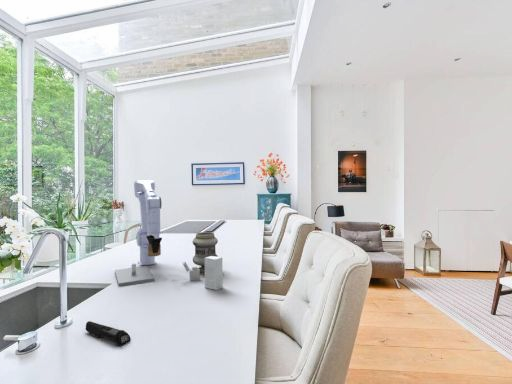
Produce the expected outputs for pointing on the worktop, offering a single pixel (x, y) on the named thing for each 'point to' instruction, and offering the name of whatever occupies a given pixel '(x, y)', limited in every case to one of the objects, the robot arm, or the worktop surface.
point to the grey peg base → (133, 275)
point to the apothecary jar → (204, 248)
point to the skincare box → (213, 272)
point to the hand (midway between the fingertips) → (154, 251)
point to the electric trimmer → (108, 333)
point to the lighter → (193, 272)
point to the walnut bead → (150, 252)
